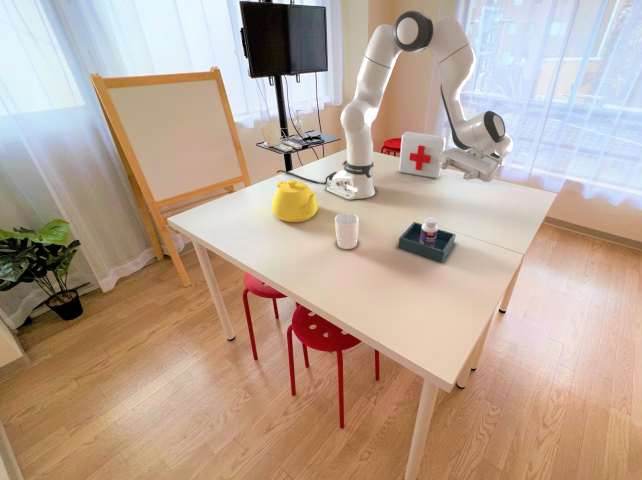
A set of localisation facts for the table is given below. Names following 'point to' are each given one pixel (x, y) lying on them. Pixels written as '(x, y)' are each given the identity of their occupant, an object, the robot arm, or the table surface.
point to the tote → (438, 252)
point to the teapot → (294, 201)
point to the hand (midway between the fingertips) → (453, 171)
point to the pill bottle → (429, 232)
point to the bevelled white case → (421, 154)
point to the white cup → (346, 230)
